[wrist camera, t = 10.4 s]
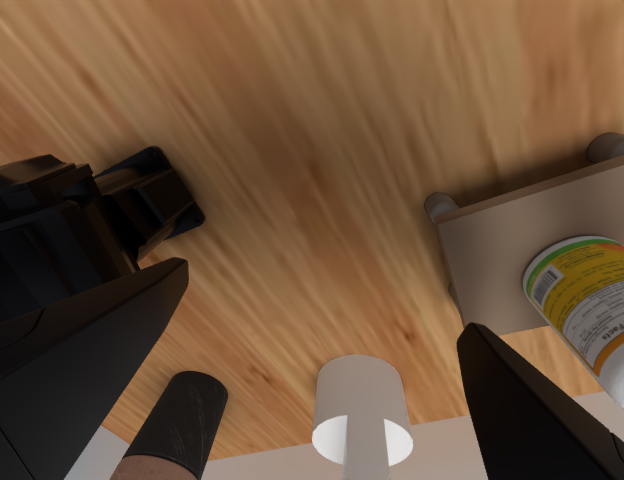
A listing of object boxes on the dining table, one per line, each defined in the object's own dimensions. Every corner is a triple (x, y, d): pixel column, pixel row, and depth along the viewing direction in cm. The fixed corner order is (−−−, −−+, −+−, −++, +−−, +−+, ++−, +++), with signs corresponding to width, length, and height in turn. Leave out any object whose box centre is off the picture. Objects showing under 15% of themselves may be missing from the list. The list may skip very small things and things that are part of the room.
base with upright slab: (395, 411, 33) (419, 564, 22) (317, 403, 34) (304, 548, 23) (407, 358, 28) (443, 518, 18) (317, 351, 29) (302, 500, 19)
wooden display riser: (449, 299, 24) (469, 341, 21) (419, 197, 20) (437, 224, 16) (619, 258, 21) (681, 298, 17) (624, 125, 17) (707, 138, 13)
